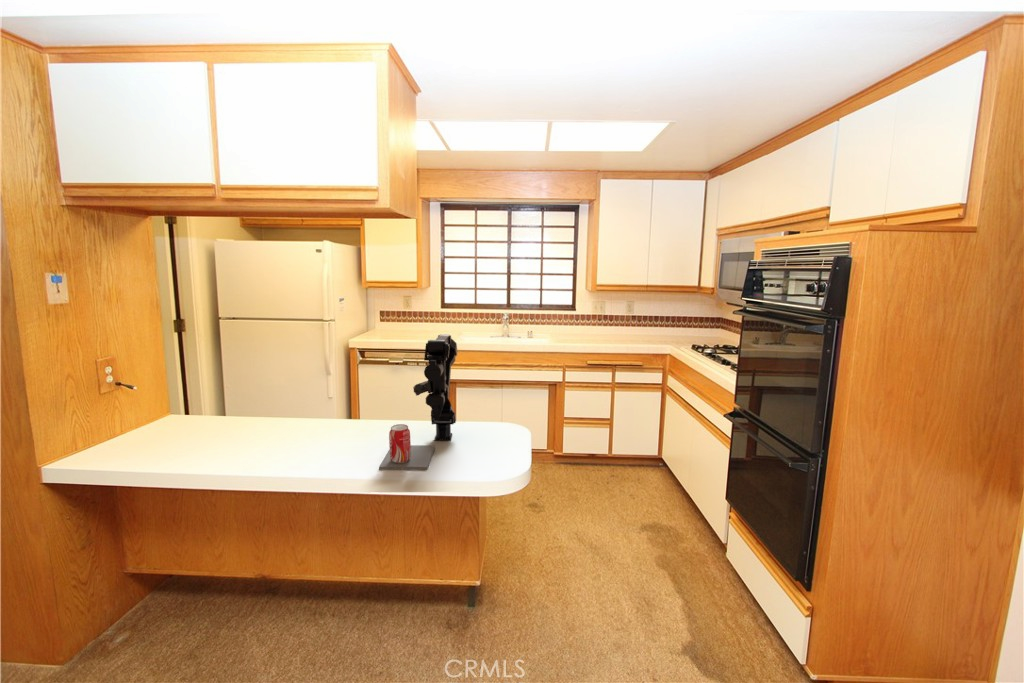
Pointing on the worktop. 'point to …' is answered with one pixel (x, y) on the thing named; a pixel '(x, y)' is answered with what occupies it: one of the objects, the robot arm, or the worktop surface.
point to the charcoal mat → (411, 459)
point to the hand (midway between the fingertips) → (438, 416)
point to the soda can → (399, 443)
